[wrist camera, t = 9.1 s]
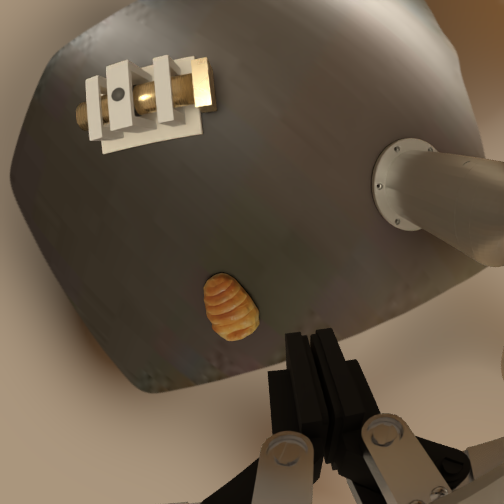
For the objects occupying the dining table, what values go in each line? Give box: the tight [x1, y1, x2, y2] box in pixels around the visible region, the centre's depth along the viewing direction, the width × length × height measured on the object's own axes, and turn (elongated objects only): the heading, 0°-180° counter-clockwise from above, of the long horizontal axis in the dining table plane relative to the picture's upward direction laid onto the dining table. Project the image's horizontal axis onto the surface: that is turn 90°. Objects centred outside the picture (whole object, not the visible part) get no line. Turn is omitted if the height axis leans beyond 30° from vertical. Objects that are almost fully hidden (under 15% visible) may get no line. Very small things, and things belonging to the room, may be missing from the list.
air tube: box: [76, 57, 217, 131], centre depth 27 cm, size 16×5×5 cm, turn 96°
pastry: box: [204, 273, 259, 341], centre depth 38 cm, size 9×7×4 cm
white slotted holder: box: [86, 55, 203, 154], centre depth 26 cm, size 13×10×9 cm
